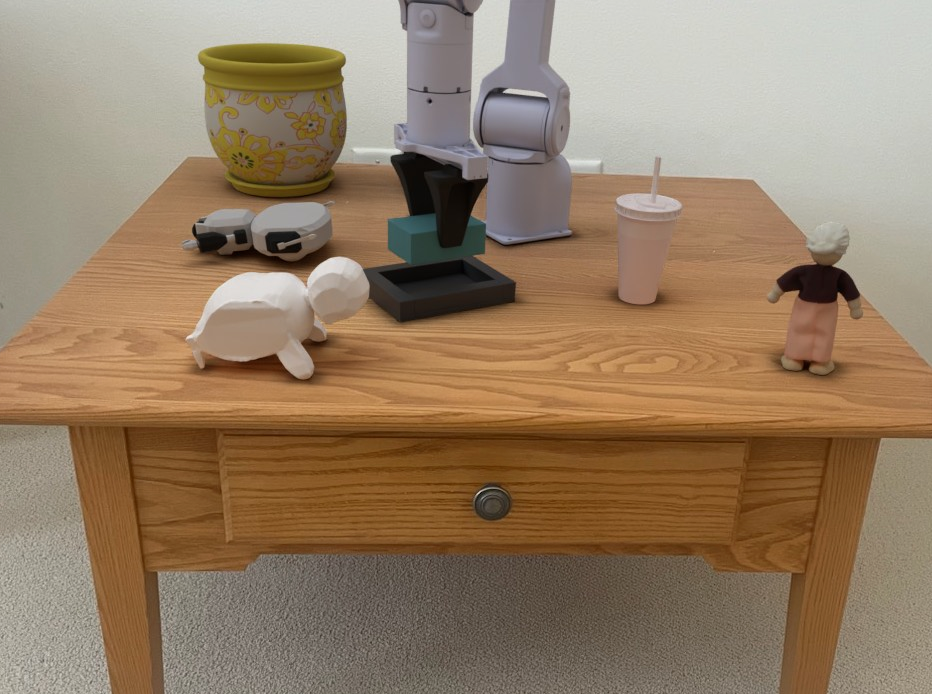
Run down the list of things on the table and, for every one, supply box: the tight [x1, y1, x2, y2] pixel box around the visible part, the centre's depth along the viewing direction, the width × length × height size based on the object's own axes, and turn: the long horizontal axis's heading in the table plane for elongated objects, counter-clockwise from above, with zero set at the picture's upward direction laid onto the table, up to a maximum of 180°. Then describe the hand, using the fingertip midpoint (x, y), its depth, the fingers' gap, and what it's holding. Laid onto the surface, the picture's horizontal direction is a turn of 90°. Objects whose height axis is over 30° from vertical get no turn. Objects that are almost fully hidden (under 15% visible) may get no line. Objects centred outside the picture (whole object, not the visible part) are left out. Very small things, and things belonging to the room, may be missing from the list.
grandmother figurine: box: [766, 220, 864, 376], centre depth 80 cm, size 8×4×13 cm, turn 81°
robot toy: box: [181, 200, 335, 262], centre depth 102 cm, size 12×4×15 cm
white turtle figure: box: [185, 256, 370, 381], centre depth 78 cm, size 9×8×15 cm
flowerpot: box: [197, 42, 348, 198], centre depth 123 cm, size 18×18×16 cm
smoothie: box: [614, 156, 683, 305], centre depth 92 cm, size 6×6×14 cm
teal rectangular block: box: [387, 213, 487, 265], centre depth 91 cm, size 8×5×3 cm, turn 120°
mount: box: [362, 256, 517, 323], centre depth 94 cm, size 12×10×2 cm
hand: (436, 237), depth 91 cm, fingers closed on teal rectangular block, 5 cm apart
